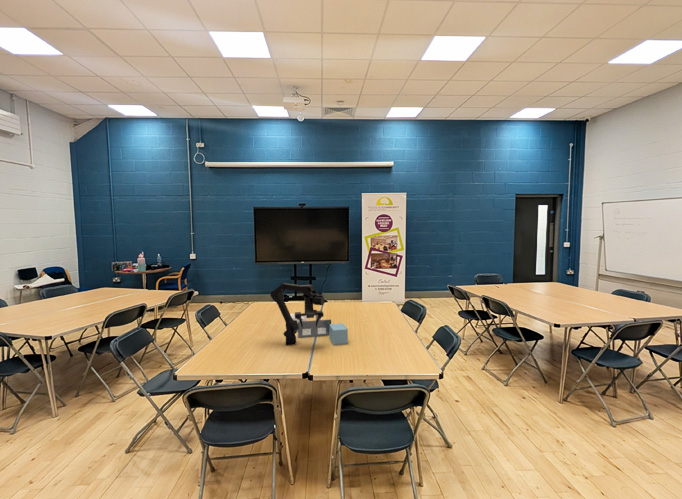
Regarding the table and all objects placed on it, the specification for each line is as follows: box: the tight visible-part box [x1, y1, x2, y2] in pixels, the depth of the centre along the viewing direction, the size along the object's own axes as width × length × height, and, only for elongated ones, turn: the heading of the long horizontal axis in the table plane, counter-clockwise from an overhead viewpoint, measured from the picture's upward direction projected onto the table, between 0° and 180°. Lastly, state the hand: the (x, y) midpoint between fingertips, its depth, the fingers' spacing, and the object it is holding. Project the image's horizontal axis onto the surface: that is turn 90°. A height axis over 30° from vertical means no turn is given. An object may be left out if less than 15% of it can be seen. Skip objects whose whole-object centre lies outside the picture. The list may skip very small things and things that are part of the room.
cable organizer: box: [290, 313, 308, 333], centre depth 242 cm, size 15×11×12 cm
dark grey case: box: [297, 318, 332, 339], centre depth 219 cm, size 30×25×12 cm
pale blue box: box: [328, 322, 349, 346], centre depth 216 cm, size 10×14×10 cm
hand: (309, 327), depth 207 cm, fingers open, 9 cm apart
